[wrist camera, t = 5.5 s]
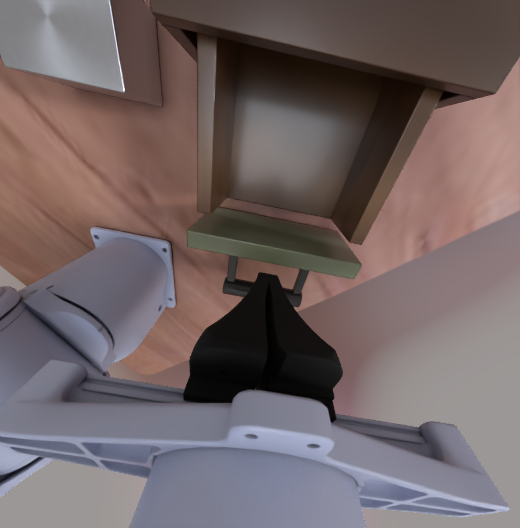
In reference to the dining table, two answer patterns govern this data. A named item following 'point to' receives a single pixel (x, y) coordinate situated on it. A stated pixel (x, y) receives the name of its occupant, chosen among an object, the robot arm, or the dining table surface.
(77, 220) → the dining table surface
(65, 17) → the silver metal block
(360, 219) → the drawer
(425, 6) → the cabinet
